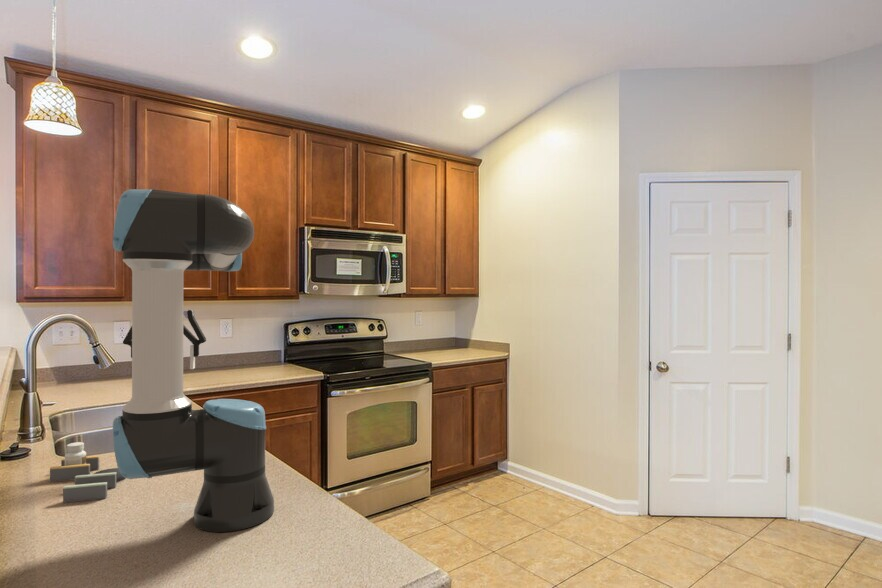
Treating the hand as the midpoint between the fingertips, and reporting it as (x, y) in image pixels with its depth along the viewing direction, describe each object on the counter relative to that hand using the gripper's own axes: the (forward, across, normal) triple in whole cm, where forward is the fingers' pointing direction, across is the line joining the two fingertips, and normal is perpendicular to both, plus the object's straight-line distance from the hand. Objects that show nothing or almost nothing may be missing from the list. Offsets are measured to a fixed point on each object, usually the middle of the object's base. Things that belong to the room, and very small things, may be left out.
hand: (165, 369), depth 141 cm
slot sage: (+24, +9, +25) cm, 36 cm away
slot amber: (+24, +18, +10) cm, 32 cm away
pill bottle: (+24, +18, +10) cm, 32 cm away
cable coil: (+24, +9, +16) cm, 30 cm away
